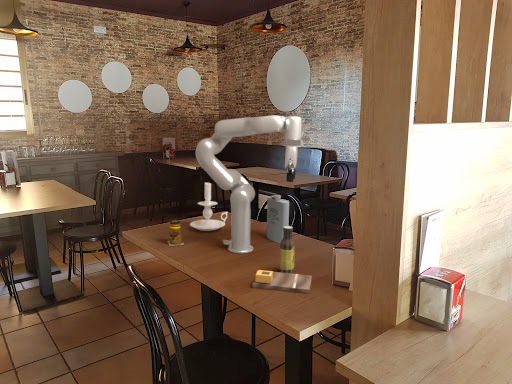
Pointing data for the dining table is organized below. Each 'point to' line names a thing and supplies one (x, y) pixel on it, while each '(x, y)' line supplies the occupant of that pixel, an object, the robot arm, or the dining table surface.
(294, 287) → the plank
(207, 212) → the candlestick
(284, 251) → the sauce bottle
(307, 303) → the dining table surface
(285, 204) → the flask
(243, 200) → the robot arm
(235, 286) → the dining table surface
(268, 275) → the block
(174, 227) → the condiment
